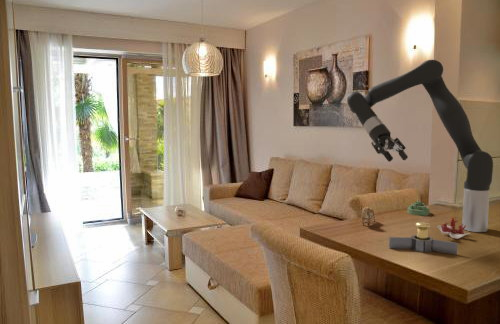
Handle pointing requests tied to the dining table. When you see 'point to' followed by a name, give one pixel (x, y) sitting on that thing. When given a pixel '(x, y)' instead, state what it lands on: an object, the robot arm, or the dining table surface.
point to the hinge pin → (422, 230)
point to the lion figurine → (367, 215)
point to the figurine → (453, 229)
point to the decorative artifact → (418, 209)
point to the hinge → (423, 244)
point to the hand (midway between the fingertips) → (398, 159)
